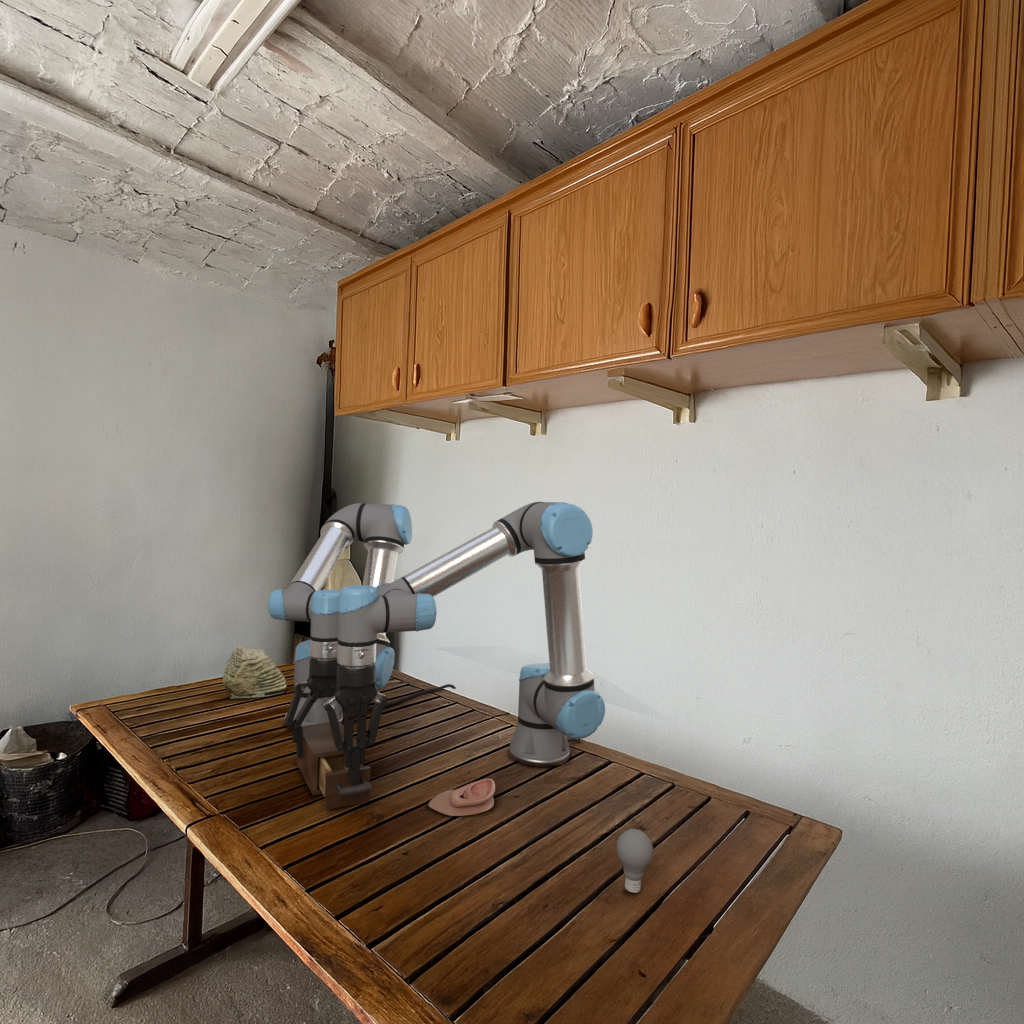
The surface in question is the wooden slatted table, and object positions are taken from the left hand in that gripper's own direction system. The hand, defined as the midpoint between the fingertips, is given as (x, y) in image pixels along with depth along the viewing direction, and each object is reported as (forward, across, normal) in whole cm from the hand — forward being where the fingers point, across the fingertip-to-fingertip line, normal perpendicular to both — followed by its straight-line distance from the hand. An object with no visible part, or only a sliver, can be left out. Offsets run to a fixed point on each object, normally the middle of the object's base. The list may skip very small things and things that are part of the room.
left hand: (322, 751), depth 148 cm
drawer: (+3, 0, -17) cm, 17 cm away
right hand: (-3, 0, -25) cm, 25 cm away
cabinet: (+4, 0, -4) cm, 6 cm away
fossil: (+4, -7, +62) cm, 62 cm away
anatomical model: (+4, +22, -30) cm, 37 cm away
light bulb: (+4, +36, -68) cm, 77 cm away
